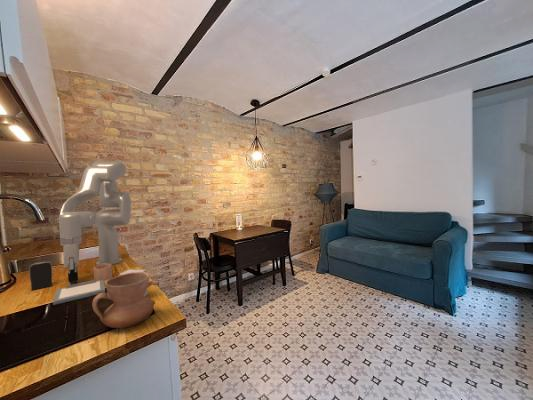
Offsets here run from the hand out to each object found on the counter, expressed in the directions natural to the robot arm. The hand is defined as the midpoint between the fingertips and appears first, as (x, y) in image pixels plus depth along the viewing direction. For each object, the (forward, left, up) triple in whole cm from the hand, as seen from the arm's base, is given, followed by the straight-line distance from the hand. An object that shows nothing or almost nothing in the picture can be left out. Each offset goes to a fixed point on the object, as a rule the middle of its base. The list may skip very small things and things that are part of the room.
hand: (73, 279), depth 103 cm
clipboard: (+13, +3, -2) cm, 14 cm away
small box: (+33, +20, -3) cm, 39 cm away
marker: (0, 0, -2) cm, 2 cm away
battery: (-5, -11, -2) cm, 12 cm away
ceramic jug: (+50, +16, -3) cm, 53 cm away
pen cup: (+1, +11, -2) cm, 11 cm away
